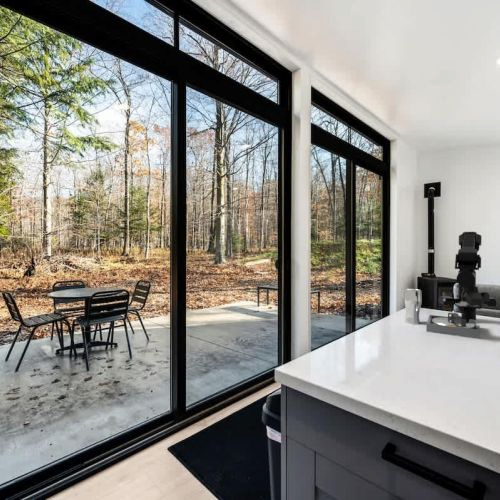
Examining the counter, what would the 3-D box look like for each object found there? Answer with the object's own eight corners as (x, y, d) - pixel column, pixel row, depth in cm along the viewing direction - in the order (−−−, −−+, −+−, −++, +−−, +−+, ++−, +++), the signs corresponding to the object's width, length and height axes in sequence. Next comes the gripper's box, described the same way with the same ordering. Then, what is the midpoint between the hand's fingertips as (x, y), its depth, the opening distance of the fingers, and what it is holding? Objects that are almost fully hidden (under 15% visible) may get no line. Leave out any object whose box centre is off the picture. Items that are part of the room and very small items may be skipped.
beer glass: (405, 323, 142) (406, 290, 142) (402, 320, 149) (403, 288, 149) (422, 325, 140) (423, 291, 140) (419, 321, 147) (419, 288, 147)
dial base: (429, 321, 146) (429, 314, 145) (477, 327, 136) (478, 319, 136) (426, 331, 131) (426, 323, 130) (480, 338, 121) (480, 329, 121)
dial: (426, 320, 142) (427, 308, 142) (463, 321, 139) (464, 310, 139) (442, 330, 125) (442, 318, 125) (485, 332, 122) (485, 320, 122)
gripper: (449, 286, 118) (449, 327, 119) (506, 286, 115) (506, 329, 115) (437, 282, 129) (437, 320, 130) (489, 282, 126) (488, 321, 126)
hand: (466, 322), depth 125 cm, fingers closed
